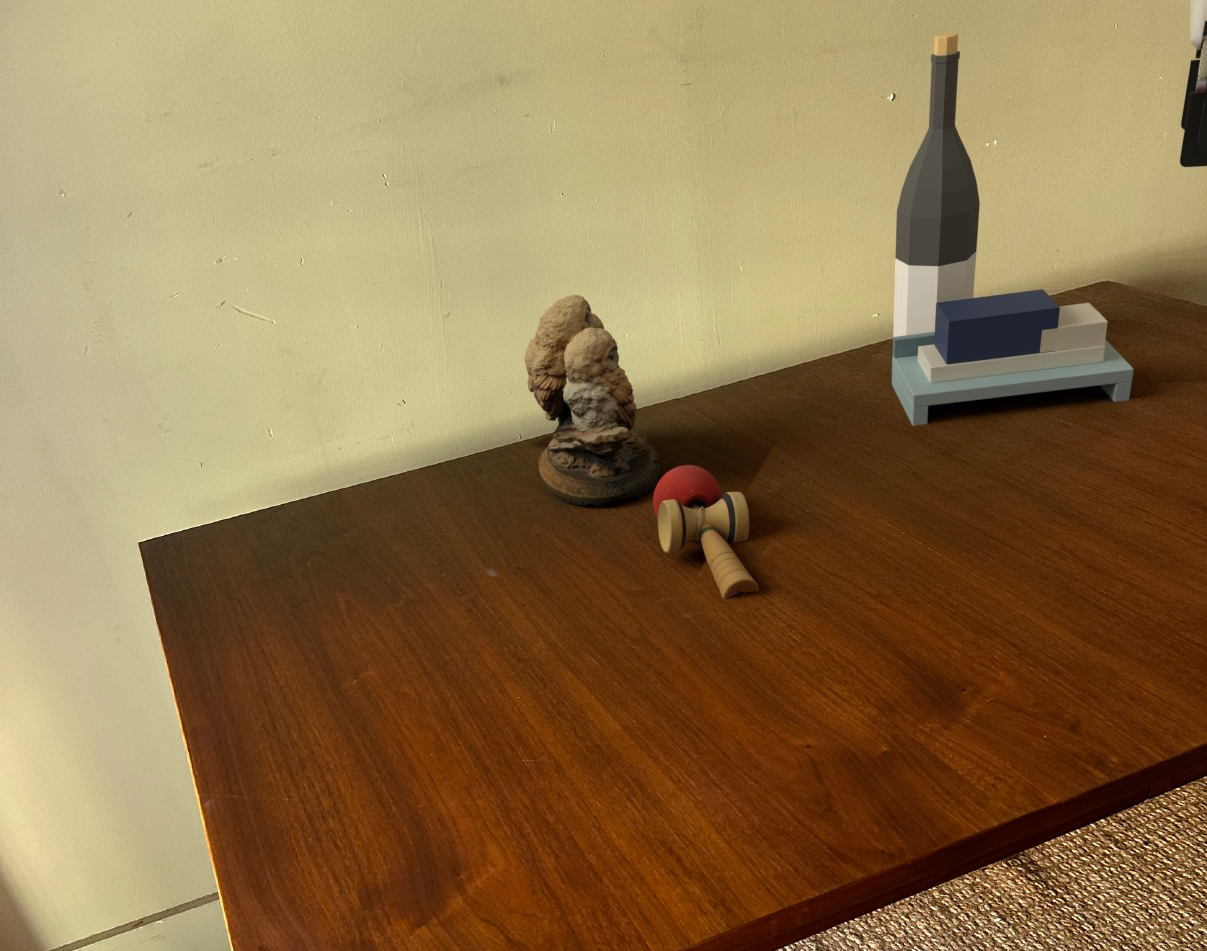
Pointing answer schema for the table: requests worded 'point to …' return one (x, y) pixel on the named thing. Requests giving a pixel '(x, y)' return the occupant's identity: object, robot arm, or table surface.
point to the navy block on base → (1011, 336)
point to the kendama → (704, 523)
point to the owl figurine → (587, 410)
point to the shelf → (997, 379)
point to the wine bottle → (936, 209)
